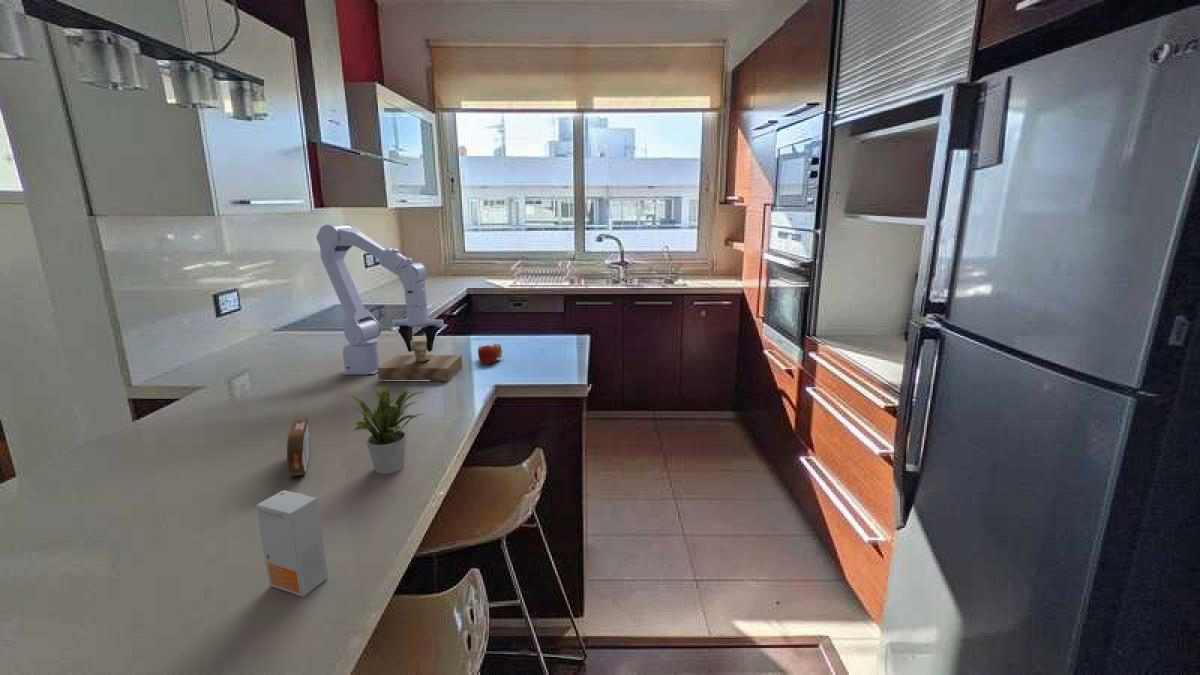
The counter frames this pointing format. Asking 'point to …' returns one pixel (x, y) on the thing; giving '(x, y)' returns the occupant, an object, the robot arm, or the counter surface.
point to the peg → (419, 349)
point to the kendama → (489, 353)
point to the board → (421, 368)
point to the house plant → (386, 431)
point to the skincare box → (292, 542)
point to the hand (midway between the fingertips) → (420, 350)
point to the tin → (298, 447)
